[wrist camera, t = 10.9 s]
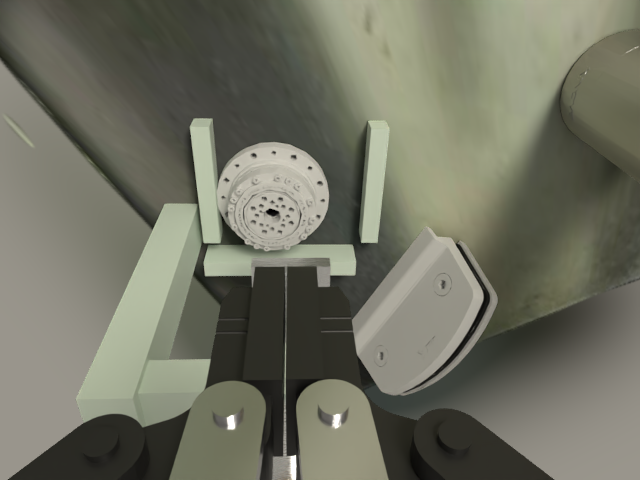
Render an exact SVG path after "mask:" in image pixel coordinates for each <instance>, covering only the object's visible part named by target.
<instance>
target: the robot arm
mask: <svg viewBox="0 0 640 480" xmlns="http://www.w3.org/2000/svg"><path fill="white" fill-rule="evenodd" d="M560 105H561V114H562V117H563V121H564V122H565V124H566V126H567V127H568V129H569V130H570V131H571V132H573V133H574V134H575V135H576V136H577V137H579V138H580V139H581V140H583V141H584V142H585V143H587V144H588V145H589V146H591V147H592V148H593V149H595V150H596V151H597V152H598V153H600V154H601V155H602V156H604V157H605V158H607V159H608V160H609V161H611V162H612V163H613V164H615V165H616V166H617V167H619V168H620V169H621V170H623V171H624V172H625V173H627V174H628V175H629V176H631V177H632V178H634V179H635V180H636V181H638V182H639V183H640V30H628V31H623V32H618V33H616V34H613V35H611V36H608V37H606V38H604V39H603V40H601V41H599V42H598V43H596V44H594V45H593V46H592V47H591V48H590V49H589V50H587V51H586V52H585V53H584V54H583V55H582V56H581V57H580V59H579V60H578V61H577V62H576V63H575V64H574V66H573V68H572V69H571V71H570V73H569V74H568V76H567V78H566V81H565V83H564V86H563V88H562V94H561V99H560ZM285 334H286V378H285ZM285 380H286V453H287V456H296V480H554V479H553V478H551V477H550V476H549V475H547V474H546V473H545V472H544V471H542V470H541V469H540V468H538V467H537V466H536V465H534V464H533V463H532V462H530V461H529V460H528V459H526V458H525V457H524V456H523V455H521V454H520V453H518V452H517V451H516V450H515V449H514V448H512V447H511V446H510V445H508V444H507V443H506V442H504V441H503V440H502V439H500V438H499V437H498V436H496V435H495V434H494V433H493V432H491V431H490V430H489V429H488V428H486V427H485V426H483V425H482V424H481V423H480V422H478V421H477V420H476V419H474V418H472V417H471V416H470V415H468V414H466V413H463V412H461V411H458V410H453V409H436V410H432V411H429V412H427V413H426V414H424V415H423V416H422V417H421V418H420V419H419V420H418V421H417V420H413V419H410V418H405V417H402V416H399V415H395V414H392V413H389V412H387V411H385V410H383V409H381V408H380V407H378V406H377V405H375V404H374V403H373V402H372V401H371V400H370V399H369V397H368V396H367V395H366V394H365V392H364V389H363V387H362V384H361V378H360V372H359V365H358V358H357V352H356V345H355V338H354V333H353V325H352V320H351V311H350V305H349V300H348V299H347V297H346V296H345V295H344V294H343V292H342V291H341V290H340V288H339V287H318V277H317V266H287V318H286V315H285V267H255V271H254V280H253V287H240V288H232V289H231V291H230V292H229V293H228V294H227V296H226V297H225V298H224V299H223V301H222V302H221V308H220V313H219V321H218V323H217V329H216V335H215V340H214V345H213V350H212V356H211V360H210V366H209V371H208V376H207V382H206V386H205V389H204V391H203V392H201V393H200V394H199V395H198V397H197V398H196V399H195V401H194V402H193V404H192V406H191V408H190V409H188V410H187V411H185V412H184V413H182V414H180V415H178V416H176V417H174V418H171V419H169V420H165V421H162V422H159V423H155V424H152V425H149V426H145V427H142V426H141V425H140V423H139V422H138V421H137V420H135V419H134V418H132V417H130V416H127V415H123V414H106V415H102V416H98V417H96V418H93V419H91V420H89V421H87V422H85V423H83V424H82V425H80V426H79V427H77V428H76V429H75V430H73V431H72V432H71V433H69V434H68V435H67V436H66V437H64V438H63V439H61V440H60V441H59V442H57V443H56V444H55V445H53V446H52V447H51V448H49V449H48V450H47V451H45V452H44V453H43V454H41V455H40V456H39V457H37V458H36V459H35V460H33V461H32V462H31V463H29V464H28V465H27V466H25V467H24V468H23V469H21V470H20V471H19V472H17V473H16V474H15V475H13V476H12V477H11V478H9V479H8V480H272V477H273V457H283V446H284V391H285Z"/></svg>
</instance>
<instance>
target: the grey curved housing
mask: <svg viewBox="0 0 640 480" xmlns="http://www.w3.org/2000/svg"><path fill="white" fill-rule="evenodd" d="M497 303H498V297H497V294H496V292H495V291H494V289H493V287H492V286H491V284H490V283H489V281H488V279H487V278H486V276H485V274H484V273H483V271H482V270H481V268H480V266H479V265H478V263H477V261H476V260H475V258H474V257H473V255H472V253H471V252H470V250H469V248H468V247H467V245H466V244H464V243H463V242H462V241H459V242H458V243H457V244H456V245H455V243H454V241H453V240H452V238H448V237H437V236H436V235H435V233H434V232H433V231H432V230H431V228H430V227H426V226H425V228H424V229H423V230H422V231H421V233H420V234H419V235H418V237H417V238H416V239H415V240H414V242H413V243H412V244H411V246H410V247H409V248H408V249H407V251H406V252H405V253H404V255H403V256H402V257H401V258H400V260H399V261H398V262H397V263H396V265H395V266H394V267H393V269H392V270H391V271H390V272H389V274H388V275H387V276H386V278H385V279H384V280H383V281H382V283H381V284H380V285H379V287H378V288H377V289H376V290H375V292H374V293H373V294H372V295H371V297H370V298H369V299H368V301H367V302H366V303H365V304H364V306H363V307H362V308H361V310H360V311H359V312H358V313H357V315H356V316H355V317H354V319H353V320H352V325H353V333H354V338H355V345H356V352H357V355H358V356H359V358H360V360H361V361H362V363H363V364H364V366H365V367H366V369H367V370H368V372H369V373H370V375H371V377H372V378H373V380H374V381H375V383H376V384H377V386H378V387H379V389H380V390H381V391H382V392H383V393H386V394H390V395H398V394H400V395H408V394H411V393H414V392H416V391H419V390H422V389H424V388H426V387H428V386H430V385H431V384H433V383H435V382H436V381H438V380H439V379H441V378H442V377H444V376H445V375H446V374H447V373H449V372H450V371H451V370H452V369H453V368H454V367H455V366H456V365H458V364H459V363H460V361H461V360H462V359H463V358H464V357H465V356H466V355H467V354H468V353H469V351H470V350H471V349H472V347H473V346H474V345H475V343H476V342H477V341H478V339H479V338H480V336H481V334H482V333H483V331H484V330H485V328H486V326H487V324H488V322H489V320H490V319H491V317H492V315H493V312H494V310H495V308H496V306H497Z"/></svg>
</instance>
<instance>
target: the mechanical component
mask: <svg viewBox="0 0 640 480" xmlns="http://www.w3.org/2000/svg"><path fill="white" fill-rule="evenodd" d="M253 153H256V154H253ZM294 155H295V156H294ZM217 197H218V207H219V210H220V212H221V214H222V216H223V218H224V220H225V222H226V224H227V225H228V226H229V227H230V228H231V229H232V230H233V231H234V232H235V233H236V234H237V235H238V236H239V237H241V238H242V239H243V240H245V244H247V245H249V244H250V245H252V246H254V248H255V249H259V248H261V249H264V250H265V251H269V250H281V249H285V250H289V249H290V246H293V245H296V244H298V243H299V242H300V241H302V240H305V239H306V238H307V236H308V235H310V234H311V233H312V232H313V231H314V230H315V229H316V228H317V227H318V226H319V225H320V223H321V222H322V220H323V219H324V217H325V214H326V212H327V209H328V201H329V191H328V184H327V181H326V178H325V176H324V173H323V170H322V169H321V167H320V166H319V165H318V163H317V162H316V161H315V160H314V159H313V158H312V157H311V156H310V155H308V154H307V153H306V152H305V151H302V150H300V149H298V148H296V147H294V146H292V145H289V144H283V143H277V142H269V143H259V144H256V145H253V146H250V147H247V148H245V149H243V150H242V151H240V152H239V153H237V154H236V155H235V156H234V157H232V158H231V159H230V160H229V161H228V163H227V164H226V166H225V167H224V169H223V171H222V174H221V177H220V180H219V184H218V189H217ZM270 208H271V209H274V210H277V212H270V211H269V209H270Z"/></svg>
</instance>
